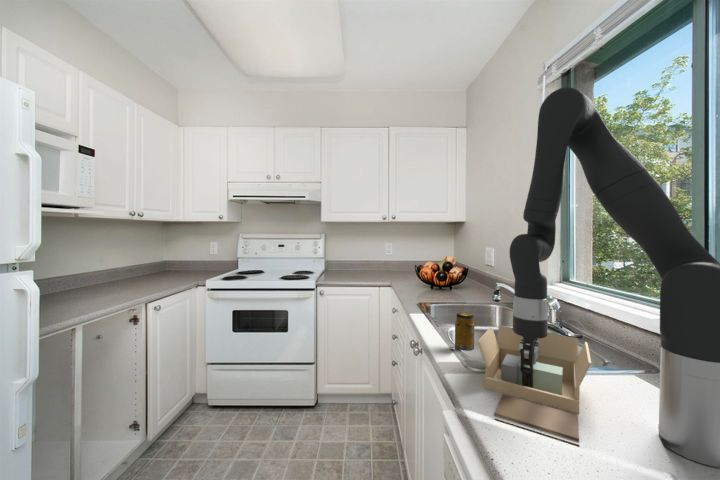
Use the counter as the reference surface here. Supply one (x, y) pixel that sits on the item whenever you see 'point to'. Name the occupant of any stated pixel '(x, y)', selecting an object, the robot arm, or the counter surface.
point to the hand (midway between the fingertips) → (528, 383)
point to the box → (543, 374)
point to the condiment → (464, 332)
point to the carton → (550, 352)
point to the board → (539, 418)
